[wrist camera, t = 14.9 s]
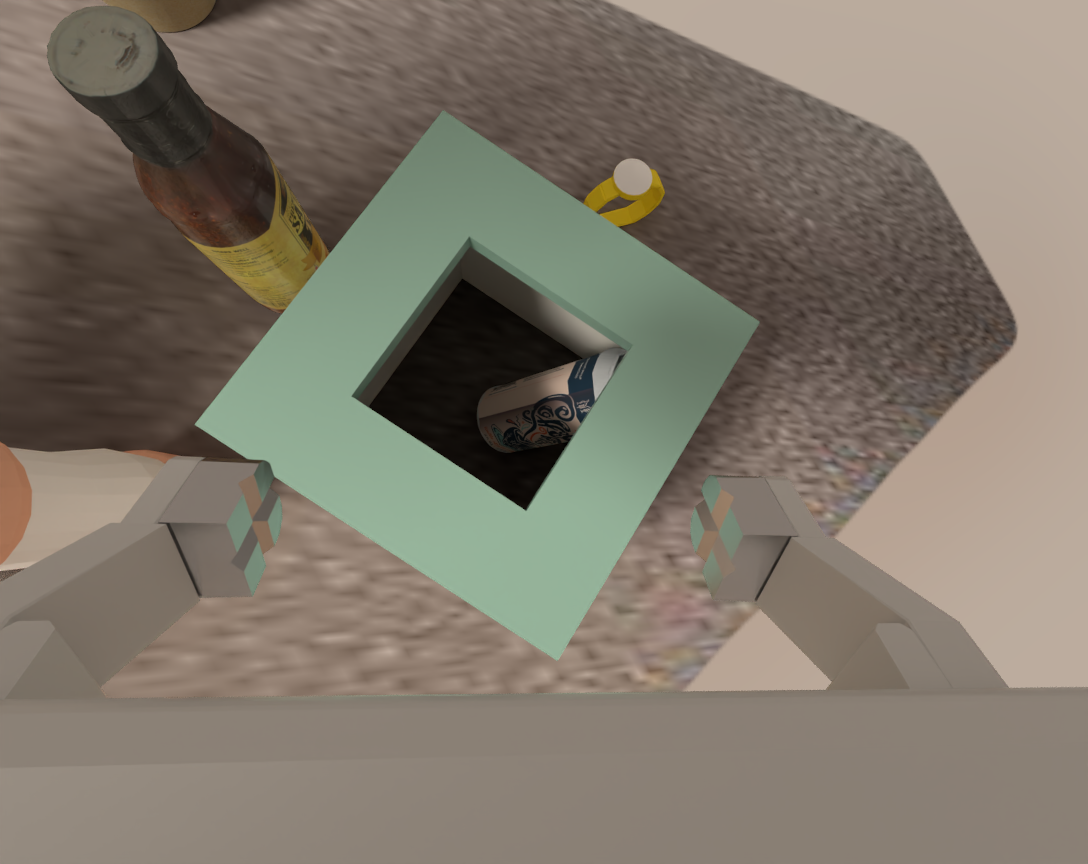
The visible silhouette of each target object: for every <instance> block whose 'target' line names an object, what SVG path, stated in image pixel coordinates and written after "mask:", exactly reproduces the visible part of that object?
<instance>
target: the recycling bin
mask: <svg viewBox="0 0 1088 864" xmlns="http://www.w3.org/2000/svg"><path fill="white" fill-rule="evenodd" d="M461 279H464V280H465V281H467V282H468V283H470V284H471V285H473V286H474V287H476V288H477V289H479V290H480V291H482V292H483V293H485V294H486V295H488V296H489V297H491V298H492V299H494V300H496V301H497V302H499V303H500V304H502V305H503V306H505V307H506V308H508V309H509V310H511V311H512V312H514V313H515V314H517V315H518V316H520V317H521V318H523V319H524V320H526V321H527V322H529V323H530V324H532V325H533V326H535V327H536V328H538V329H539V330H541V331H542V332H544V333H545V334H547V335H548V336H550V337H551V338H553V339H554V340H556V341H557V342H559V343H560V344H562V345H563V346H565V347H566V348H568V349H569V350H571V351H572V352H574V353H575V354H577V355H578V356H580V357H581V358H583V359H584V358H587V357H590V356H593V355H596V354H600V353H602V352H603V351H605V350H607V349H609V348H620V349H624V350H626V351H627V353H626V354H625V356H624V357H623V359H622V360H621V362H620V363H619V365H618V367H617V368H616V370H615V371H614V373H613V374H612V376H611V377H610V379H609V381H608V382H607V384H606V385H605V387H604V388H603V390H602V391H601V393H600V395H599V396H598V398H597V399H596V401H595V402H594V404H593V405H592V407H591V408H590V410H589V412H588V413H587V415H586V416H585V418H584V419H583V421H582V422H581V424H580V426H579V427H578V429H577V430H576V432H575V433H574V435H573V436H572V438H571V440H570V441H569V443H568V444H567V446H566V447H565V449H564V450H563V452H562V454H561V455H560V457H559V458H558V460H557V461H556V463H555V464H554V466H553V468H552V469H551V471H550V472H549V474H548V475H547V477H546V478H545V480H544V482H543V483H542V485H541V486H540V488H539V489H538V491H537V492H536V494H535V496H534V497H533V499H532V500H531V502H530V503H529V505H528V506H527V508H526V510H524V509H523V508H521V507H520V506H518V505H516V504H515V503H513V502H512V501H510V500H509V499H507V498H506V497H504V496H503V495H501V494H500V493H498V492H497V491H495V490H494V489H492V488H491V487H489V486H487V485H486V484H484V483H483V482H481V481H480V480H478V479H477V478H475V477H474V476H472V475H471V474H469V473H468V472H466V471H465V470H463V469H462V468H460V467H459V466H457V465H455V464H454V463H452V462H451V461H449V460H448V459H446V458H445V457H443V456H442V455H440V454H439V453H437V452H436V451H434V450H433V449H431V448H430V447H428V446H427V445H425V444H423V443H422V442H420V441H419V440H417V439H416V438H414V437H413V436H411V435H410V434H408V433H407V432H405V431H404V430H402V429H401V428H399V427H398V426H396V425H394V424H393V423H391V422H390V421H388V420H387V419H385V418H384V417H382V416H381V415H379V414H378V413H376V412H375V411H373V410H372V409H370V408H369V405H370V404H371V403H372V401H373V400H374V399H375V397H376V396H377V394H378V393H379V392H380V390H381V389H382V388H383V386H384V385H385V384H386V382H387V381H388V379H389V378H390V377H391V375H392V374H393V373H394V371H395V370H396V368H397V367H398V366H399V364H400V363H401V362H402V360H403V359H404V357H405V356H406V355H407V353H408V352H409V351H410V349H411V348H412V346H413V345H414V344H415V342H416V341H417V340H418V338H419V337H420V336H421V334H422V333H423V331H424V330H425V329H426V327H427V326H428V325H429V323H430V322H431V320H432V319H433V318H434V316H435V315H436V314H437V312H438V311H439V309H440V308H441V307H442V305H443V304H444V303H445V301H446V300H447V298H448V297H449V296H450V294H451V293H452V292H453V290H454V289H455V288H456V286H457V285H458V283H459V282H460V281H461ZM759 323H760V322H759V321H758V320H756V319H755V318H753V317H752V316H750V315H749V314H747V313H746V312H744V311H743V310H741V309H740V308H738V307H737V306H735V305H734V304H732V303H731V302H729V301H728V300H726V299H725V298H723V297H722V296H720V295H719V294H717V293H716V292H714V291H713V290H711V289H710V288H708V287H707V286H705V285H704V284H702V283H701V282H699V281H698V280H696V279H695V278H693V277H692V276H690V275H689V274H687V273H686V272H684V271H683V270H681V269H680V268H678V267H677V266H675V265H674V264H672V263H671V262H670V261H668V260H667V259H665V258H664V257H662V256H661V255H659V254H658V253H656V252H655V251H653V250H652V249H650V248H649V247H647V246H646V245H644V244H643V243H641V242H640V241H638V240H637V239H635V238H634V237H632V236H631V235H629V234H628V233H626V232H625V231H623V230H622V229H620V228H619V227H617V226H616V225H614V224H613V223H611V222H610V221H608V220H607V219H605V218H604V217H602V216H601V215H599V214H598V213H596V212H595V211H593V210H592V209H590V208H589V207H587V206H586V205H584V204H583V203H581V202H580V201H578V200H577V199H575V198H574V197H572V196H571V195H569V194H568V193H566V192H565V191H563V190H562V189H560V188H559V187H557V186H556V185H554V184H553V183H551V182H550V181H548V180H547V179H545V178H544V177H542V176H541V175H539V174H538V173H536V172H535V171H533V170H532V169H530V168H529V167H527V166H526V165H524V164H523V163H521V162H520V161H518V160H517V159H515V158H514V157H512V156H511V155H509V154H508V153H506V152H505V151H503V150H502V149H500V148H499V147H497V146H496V145H494V144H493V143H491V142H490V141H489V140H487V139H486V138H484V137H483V136H481V135H480V134H478V133H477V132H475V131H474V130H472V129H471V128H469V127H468V126H466V125H465V124H463V123H462V122H460V121H459V120H457V119H456V118H454V117H453V116H451V115H450V114H448V113H447V112H445V111H444V110H443V111H442V112H441V114H440V115H439V116H438V117H437V119H436V120H435V121H434V122H433V124H432V125H431V126H430V127H429V129H428V130H427V131H426V133H425V134H424V135H423V136H422V138H421V139H420V140H419V141H418V143H417V144H416V145H415V146H414V148H413V149H412V150H411V151H410V153H409V154H408V155H407V157H406V158H405V159H404V160H403V162H402V163H401V164H400V165H399V167H398V168H397V169H396V170H395V172H394V173H393V174H392V176H391V177H390V178H389V179H388V181H387V182H386V183H385V184H384V186H383V187H382V188H381V189H380V191H379V192H378V193H377V194H376V196H375V197H374V198H373V200H372V201H371V202H370V203H369V205H368V206H367V207H366V208H365V210H364V211H363V212H362V213H361V215H360V216H359V217H358V219H357V220H356V221H355V222H354V224H353V225H352V226H351V227H350V229H349V230H348V231H347V232H346V234H345V235H344V236H343V237H342V239H341V240H340V241H339V243H338V244H337V245H336V246H335V248H334V249H333V250H332V251H331V253H330V254H329V255H328V256H327V258H326V259H325V260H324V261H323V263H322V264H321V265H320V267H319V268H318V269H317V270H316V272H315V273H314V274H313V275H312V277H311V278H310V279H309V280H308V282H307V283H306V284H305V286H304V287H303V288H302V289H301V291H300V292H299V293H298V294H297V296H296V297H295V298H294V299H293V301H292V302H291V303H290V304H289V306H288V307H287V308H286V310H285V311H284V312H283V313H282V315H281V316H280V317H279V318H278V320H277V321H276V322H275V323H274V325H273V326H272V327H271V329H270V330H269V331H268V332H267V334H266V335H265V336H264V337H263V339H262V340H261V341H260V342H259V344H258V345H257V346H256V347H255V349H254V350H253V351H252V353H251V354H250V355H249V356H248V358H247V359H246V360H245V361H244V363H243V364H242V365H241V366H240V368H239V369H238V370H237V372H236V373H235V374H234V375H233V377H232V378H231V379H230V380H229V382H228V383H227V384H226V385H225V387H224V388H223V389H222V390H221V392H220V393H219V394H218V396H217V397H216V398H215V399H214V401H213V402H212V403H211V404H210V406H209V407H208V408H207V409H206V411H205V412H204V413H203V414H202V416H201V417H200V418H199V420H198V421H197V422H196V423H195V425H196V426H197V427H199V428H201V429H202V430H204V431H205V432H207V433H208V434H210V435H211V436H213V437H214V438H216V439H217V440H219V441H221V442H222V443H224V444H225V445H227V446H228V447H230V448H231V449H233V450H234V451H236V452H237V453H239V454H240V455H242V456H244V457H245V458H247V459H253V460H265V461H267V462H269V463H270V465H271V468H272V471H273V474H274V477H276V478H277V479H279V480H280V481H282V482H283V483H285V484H287V485H288V486H290V487H291V488H293V489H294V490H296V491H297V492H299V493H300V494H302V495H303V496H305V497H307V498H308V499H310V500H311V501H313V502H314V503H316V504H317V505H319V506H320V507H322V508H323V509H325V510H326V511H328V512H330V513H331V514H333V515H334V516H336V517H337V518H339V519H340V520H342V521H343V522H345V523H346V524H348V525H350V526H351V527H353V528H354V529H356V530H357V531H359V532H360V533H362V534H363V535H365V536H366V537H368V538H369V539H371V540H373V541H374V542H376V543H377V544H379V545H380V546H382V547H383V548H385V549H386V550H388V551H389V552H391V553H393V554H394V555H396V556H397V557H399V558H400V559H402V560H403V561H405V562H406V563H408V564H409V565H411V566H412V567H414V568H416V569H417V570H419V571H420V572H422V573H423V574H425V575H426V576H428V577H429V578H431V579H432V580H434V581H436V582H437V583H439V584H440V585H442V586H443V587H445V588H446V589H448V590H449V591H451V592H452V593H454V594H455V595H457V596H459V597H460V598H462V599H463V600H465V601H466V602H468V603H469V604H471V605H472V606H474V607H475V608H477V609H479V610H480V611H482V612H483V613H485V614H486V615H488V616H489V617H491V618H492V619H494V620H495V621H497V622H498V623H500V624H502V625H503V626H505V627H506V628H508V629H509V630H511V631H512V632H514V633H515V634H517V635H518V636H520V637H522V638H523V639H525V640H526V641H528V642H529V643H531V644H532V645H534V646H535V647H537V648H538V649H540V650H541V651H543V652H545V653H546V654H548V655H549V656H551V657H552V658H554V659H555V660H557V661H558V659H559V658H560V656H561V654H562V653H563V651H564V649H565V648H566V646H567V644H568V643H569V641H570V639H571V638H572V636H573V634H574V633H575V631H576V629H577V628H578V626H579V624H580V622H581V621H582V619H583V617H584V616H585V614H586V612H587V611H588V609H589V607H590V606H591V604H592V602H593V601H594V599H595V597H596V596H597V594H598V592H599V591H600V589H601V587H602V586H603V584H604V582H605V581H606V579H607V577H608V576H609V574H610V572H611V571H612V569H613V567H614V566H615V564H616V562H617V561H618V559H619V557H620V556H621V554H622V552H623V551H624V549H625V547H626V546H627V544H628V542H629V540H630V539H631V537H632V535H633V534H634V532H635V530H636V529H637V527H638V525H639V524H640V522H641V520H642V519H643V517H644V515H645V514H646V512H647V510H648V509H649V507H650V505H651V504H652V502H653V500H654V499H655V497H656V495H657V494H658V492H659V490H660V489H661V487H662V485H663V484H664V482H665V480H666V479H667V477H668V475H669V474H670V472H671V470H672V469H673V467H674V465H675V464H676V462H677V460H678V458H679V457H680V455H681V453H682V452H683V450H684V448H685V447H686V445H687V443H688V442H689V440H690V438H691V437H692V435H693V433H694V432H695V430H696V428H697V427H698V425H699V423H700V422H701V420H702V418H703V417H704V415H705V413H706V412H707V410H708V408H709V407H710V405H711V403H712V402H713V400H714V398H715V397H716V395H717V393H718V392H719V390H720V388H721V387H722V385H723V383H724V382H725V380H726V378H727V376H728V375H729V373H730V371H731V370H732V368H733V366H734V365H735V363H736V361H737V360H738V358H739V356H740V355H741V353H742V351H743V350H744V348H745V346H746V345H747V343H748V341H749V340H750V338H751V336H752V335H753V333H754V331H755V330H756V328H757V326H758V325H759Z"/></svg>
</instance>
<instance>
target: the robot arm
mask: <svg viewBox="0 0 1088 864" xmlns="http://www.w3.org/2000/svg"><path fill="white" fill-rule="evenodd" d="M273 479H274V474H273V471H272V468H271V465H270V463H269V462H267V461H265V460H253V459H235V458H217V457H206V458H204V457H189V456H175V457H173V458H171V459H169V460H168V461H167V462H166V463H165V465H164V466H163V467H162V469H161V470H160V471H159V472H158V474H157V475H156V476H155V478H154V479H153V480H152V482H151V483H150V484H149V486H148V487H147V488H146V490H145V491H144V492H143V494H142V495H141V496H140V498H139V499H138V500H137V501H136V503H135V504H134V505H133V507H132V508H131V509H130V511H129V512H128V513H127V515H126V516H125V517H124V519H123V520H122V521H121V523H109V524H107V525H105V526H103V527H102V528H100V529H98V530H96V531H94V532H92V533H90V534H89V535H87V536H85V537H83V538H81V539H79V540H77V541H76V542H74V543H72V544H70V545H68V546H66V547H64V548H63V549H61V550H59V551H57V552H55V553H53V554H52V555H50V556H48V557H46V558H44V559H42V560H40V561H39V562H37V563H35V564H33V565H31V566H29V567H27V568H26V569H24V570H22V571H20V572H18V573H16V574H14V575H13V576H11V577H9V578H7V579H5V580H3V581H1V582H0V864H1088V687H1044V688H1043V687H1041V688H1009V687H1008V686H1007V684H1006V683H1005V682H1004V680H1003V679H1002V678H1001V676H1000V675H999V674H998V673H997V671H996V670H995V669H994V667H993V666H992V665H991V663H990V662H989V661H988V660H987V658H986V657H985V655H984V654H983V653H982V651H981V650H980V649H979V647H978V646H977V645H976V643H975V642H974V641H973V639H972V638H971V637H970V636H969V634H968V633H967V632H966V630H965V629H964V628H963V626H962V625H961V624H960V622H958V621H957V620H956V619H954V618H952V617H951V616H950V615H948V614H947V613H945V612H944V611H942V610H940V609H939V608H938V607H936V606H935V605H933V604H932V603H930V602H929V601H927V600H926V599H924V598H923V597H921V596H920V595H918V594H917V593H915V592H914V591H912V590H911V589H909V588H908V587H906V586H905V585H903V584H902V583H900V582H899V581H897V580H896V579H894V578H893V577H892V576H890V575H889V574H887V573H885V572H884V571H883V570H881V569H880V568H878V567H877V566H875V565H873V564H872V563H871V562H869V561H868V560H866V559H865V558H863V557H862V556H860V555H859V554H857V553H856V552H854V551H853V550H851V549H850V548H848V547H847V546H845V545H844V544H842V543H841V542H839V541H838V540H836V539H835V538H826V536H825V535H824V533H823V531H822V530H821V528H820V527H819V525H818V524H817V522H816V520H815V519H814V517H813V516H812V514H811V512H810V511H809V509H808V508H807V506H806V505H805V503H804V501H803V500H802V498H801V497H800V495H799V494H798V492H797V490H796V489H795V487H794V486H793V484H792V482H791V481H790V480H789V479H787V478H786V477H785V476H759V477H756V476H722V475H709V477H708V478H707V479H706V480H705V482H704V484H703V487H702V489H701V491H702V493H703V496H704V498H705V500H703V501H702V502H701V503H699V504H698V505H697V506H695V509H694V512H693V515H692V518H691V532H690V533H691V539H692V544H693V547H694V550H695V553H696V554H697V555H698V556H700V557H701V558H702V559H703V560H704V561H705V562H706V564H705V567H704V569H703V575H704V577H705V580H706V583H707V585H708V588H709V591H710V593H711V596H712V599H713V600H719V601H748V602H756V605H757V606H758V607H759V608H760V609H761V610H762V611H763V612H764V613H765V614H766V615H767V616H768V617H769V618H770V619H771V620H772V621H773V622H774V623H775V624H776V625H777V626H778V627H779V628H780V629H781V630H782V631H783V632H784V633H785V634H786V635H787V636H788V637H789V639H791V641H793V643H794V644H795V645H796V646H798V648H799V649H801V651H802V652H803V653H804V654H805V655H806V656H807V657H808V658H809V659H810V660H811V661H812V662H813V663H814V664H815V665H816V666H817V667H818V668H819V669H820V670H821V671H822V672H823V673H824V674H825V675H826V676H827V677H828V678H829V679H830V680H831V681H832V682H831V684H830V685H829V686H828V687H827V689H826V690H778V691H777V690H776V691H775V690H774V691H693V692H692V691H691V692H610V693H531V694H438V695H347V696H259V697H171V698H108V697H107V695H106V694H105V693H104V691H103V690H102V689H101V686H102V685H104V684H105V683H106V682H107V681H108V680H109V679H110V678H112V677H113V676H114V675H115V674H116V673H117V672H119V671H120V670H121V669H122V668H123V667H124V666H125V665H127V664H128V663H129V662H130V661H131V660H132V659H134V658H135V657H136V656H137V655H138V654H139V653H140V652H142V651H143V650H144V649H145V648H146V647H147V646H148V645H150V644H151V643H152V642H153V641H154V640H155V639H157V638H158V637H159V636H160V635H161V634H162V633H163V632H165V631H166V630H167V629H168V628H169V627H170V626H171V625H173V624H174V623H175V622H176V621H177V620H178V619H180V618H181V617H182V616H183V615H184V614H185V613H186V612H188V611H189V610H190V609H191V608H192V607H193V606H194V605H196V604H197V603H198V602H199V601H200V598H212V597H253V595H254V592H255V590H256V588H257V585H258V583H259V581H260V579H261V576H262V574H263V572H264V569H265V567H266V564H265V561H264V557H263V554H264V553H265V552H267V551H268V550H270V549H271V548H272V547H274V546H275V543H276V541H277V538H278V536H279V533H280V528H281V522H282V505H281V501H280V497H279V495H278V494H277V493H276V492H274V491H273V490H272V489H271V488H270V485H271V483H272V481H273Z"/></svg>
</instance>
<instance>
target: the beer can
mask: <svg viewBox="0 0 1088 864" xmlns="http://www.w3.org/2000/svg"><path fill="white" fill-rule="evenodd" d="M626 353H627V351H626V350H624V349H620V348H609V349H607V350H605V351H603V352H602V353H600V354H596V355H593V356H590V357H587V358H584V359H581V360H578V361H575V362H572V363H569V364H566V365H563V366H560V367H557V368H554V369H551V370H547V371H544V372H541V373H538V374H535V375H532V376H529V377H526V378H523V379H520V380H517V381H514V382H511V383H508V384H505V385H500V386H494V387H492V388H490V389H488V390H487V391H486V392H485V393H484V394H483V395H482V397H481V399H480V401H479V404H478V407H477V422H478V427H479V430H480V432H481V435H482V436H483V438H484V439H485V441H486V442H487V443H488V444H489V445H490V446H491V447H492V448H494V449H496V450H497V451H500V452H504V453H511V452H516V451H521V450H527V449H532V448H538V447H543V446H549V445H554V444H560V443H565V442H569V441H570V440H571V438H572V436H573V435H574V433H575V432H576V430H577V429H578V427H579V426H580V424H581V422H582V421H583V419H584V418H585V416H586V415H587V413H588V412H589V410H590V408H591V407H592V405H593V404H594V402H595V401H596V399H597V398H598V396H599V395H600V393H601V391H602V390H603V388H604V387H605V385H606V384H607V382H608V381H609V379H610V377H611V376H612V374H613V373H614V371H615V370H616V368H617V367H618V365H619V363H620V362H621V360H622V359H623V357H624V356H625V354H626Z"/></svg>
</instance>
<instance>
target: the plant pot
mask: <svg viewBox="0 0 1088 864" xmlns="http://www.w3.org/2000/svg"><path fill="white" fill-rule="evenodd" d="M102 1H104V2H105V3H106V4H108V5H109V6H116V7H120V8H123V9H126V10H129V11H132V12H135V13H136V14H138V15H139V16H141V17H142V18H144V19H145V20H146V21H147V22H148V23H149V24H150V25H151V26H152V27H153V28H154V30H155V31H157V32H178V31H182V30H186V29H189V28H191V27H193V26H195V25H197V24H199V23H200V22H201V21H202V20H204V19H205V18H206V17H207V16H208V14H209V13H210V12H211V10H212V9H213V7H214V4H215V2H216V0H102Z"/></svg>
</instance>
